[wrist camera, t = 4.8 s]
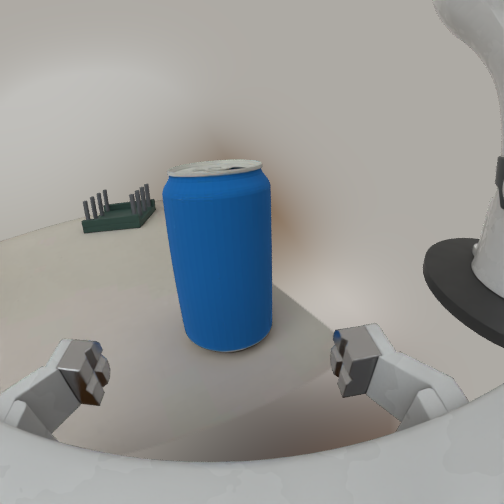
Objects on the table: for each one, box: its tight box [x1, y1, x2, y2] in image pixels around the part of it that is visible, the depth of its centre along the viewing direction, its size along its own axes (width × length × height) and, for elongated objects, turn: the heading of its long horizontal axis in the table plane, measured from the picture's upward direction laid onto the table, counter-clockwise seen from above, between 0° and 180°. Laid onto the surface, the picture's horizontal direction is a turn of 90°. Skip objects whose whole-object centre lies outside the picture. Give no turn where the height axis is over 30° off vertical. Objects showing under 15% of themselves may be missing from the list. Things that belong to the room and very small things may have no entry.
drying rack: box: [82, 184, 156, 233], centre depth 49 cm, size 11×11×6 cm
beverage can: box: [162, 160, 272, 352], centre depth 19 cm, size 6×6×12 cm
